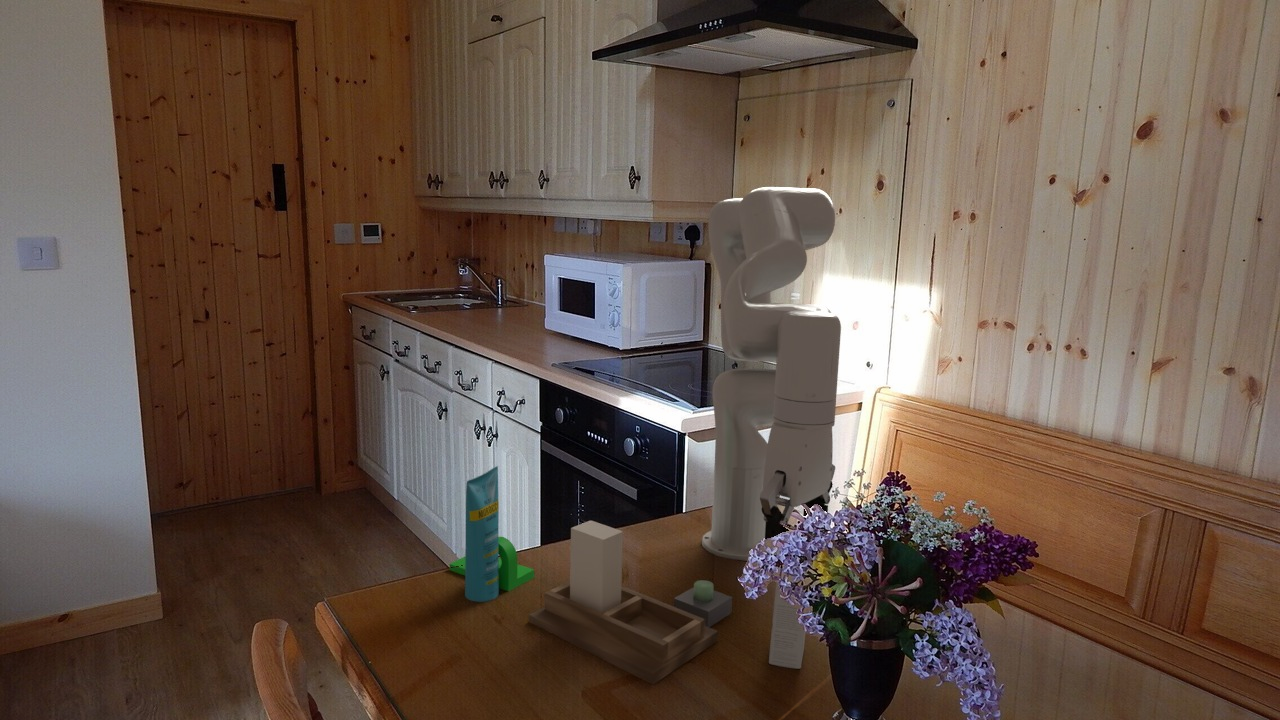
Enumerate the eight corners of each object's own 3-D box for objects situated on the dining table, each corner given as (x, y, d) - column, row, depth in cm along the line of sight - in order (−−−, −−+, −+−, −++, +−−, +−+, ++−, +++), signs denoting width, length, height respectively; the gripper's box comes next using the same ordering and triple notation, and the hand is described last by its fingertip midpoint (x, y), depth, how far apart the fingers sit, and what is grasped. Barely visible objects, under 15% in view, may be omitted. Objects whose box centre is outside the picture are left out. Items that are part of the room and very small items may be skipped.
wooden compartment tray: (596, 591, 125) (597, 566, 125) (717, 641, 112) (718, 613, 111) (528, 624, 115) (528, 597, 114) (653, 684, 101) (654, 654, 100)
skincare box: (772, 642, 112) (777, 558, 110) (806, 647, 111) (812, 562, 109) (767, 666, 106) (773, 577, 104) (803, 671, 105) (809, 582, 103)
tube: (484, 611, 118) (483, 482, 115) (454, 605, 119) (453, 478, 116) (508, 589, 125) (509, 467, 122) (480, 584, 126) (479, 463, 123)
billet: (589, 599, 119) (590, 520, 117) (620, 612, 116) (622, 531, 114) (569, 608, 116) (571, 528, 114) (601, 623, 113) (603, 539, 110)
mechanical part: (534, 581, 128) (534, 532, 127) (508, 596, 123) (508, 545, 122) (476, 562, 135) (475, 516, 133) (449, 575, 130) (449, 527, 128)
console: (697, 600, 123) (698, 584, 123) (731, 613, 120) (732, 597, 119) (673, 614, 119) (673, 598, 118) (707, 628, 115) (708, 611, 115)
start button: (700, 591, 121) (701, 578, 120) (716, 597, 119) (717, 584, 119) (689, 597, 119) (690, 584, 118) (705, 604, 117) (706, 590, 116)
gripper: (810, 396, 111) (802, 518, 114) (740, 416, 98) (733, 553, 101) (862, 405, 107) (853, 531, 109) (797, 427, 93) (788, 571, 96)
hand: (796, 542), depth 105 cm, fingers open, 9 cm apart
